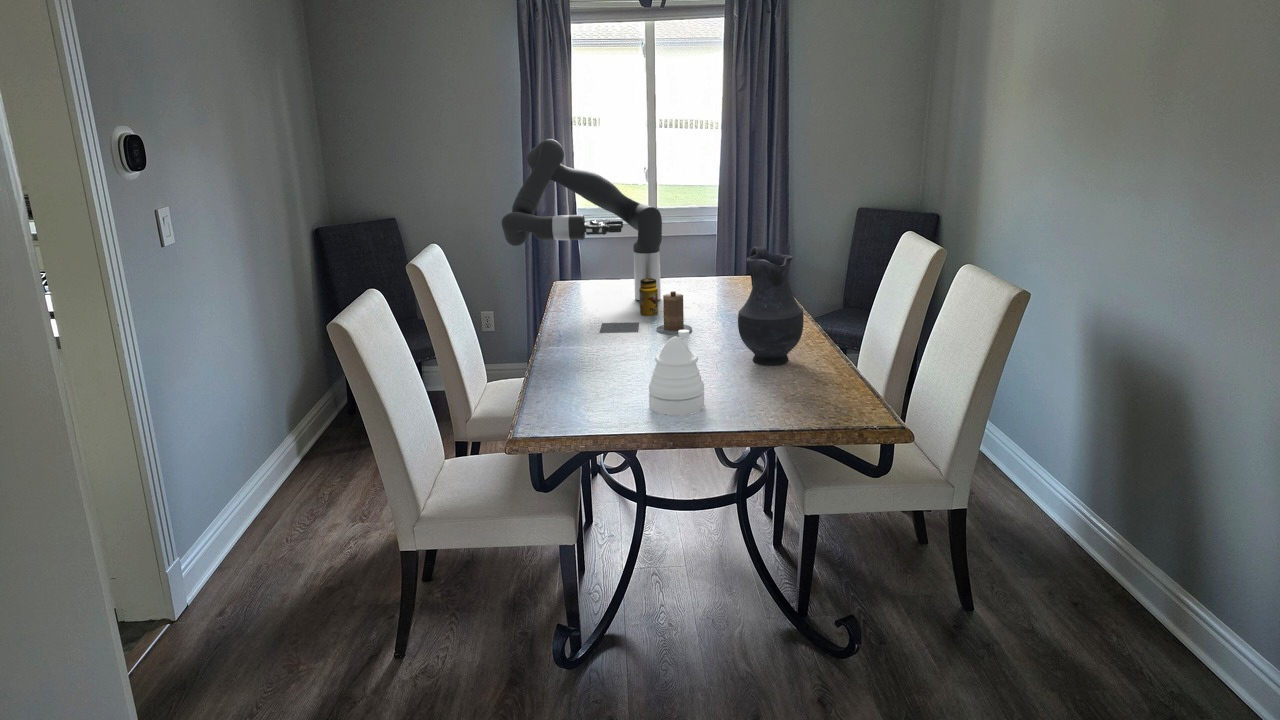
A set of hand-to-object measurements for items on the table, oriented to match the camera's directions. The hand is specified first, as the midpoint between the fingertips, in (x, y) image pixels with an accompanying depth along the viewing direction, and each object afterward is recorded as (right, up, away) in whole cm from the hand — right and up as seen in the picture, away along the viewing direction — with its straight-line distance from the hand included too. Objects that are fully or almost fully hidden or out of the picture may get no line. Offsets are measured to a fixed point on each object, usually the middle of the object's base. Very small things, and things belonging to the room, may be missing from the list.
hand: (622, 226), depth 255 cm
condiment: (+8, -26, +26) cm, 37 cm away
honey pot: (+14, -51, -58) cm, 79 cm away
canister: (+16, -31, +5) cm, 35 cm away
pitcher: (+40, -40, -25) cm, 62 cm away
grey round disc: (+16, -31, +5) cm, 36 cm away
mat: (-1, -31, +10) cm, 32 cm away
